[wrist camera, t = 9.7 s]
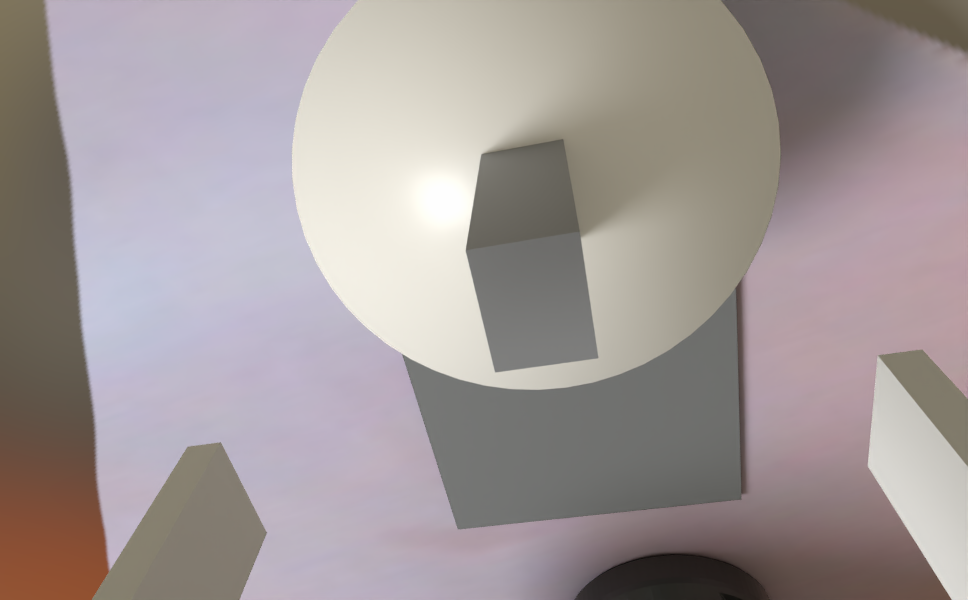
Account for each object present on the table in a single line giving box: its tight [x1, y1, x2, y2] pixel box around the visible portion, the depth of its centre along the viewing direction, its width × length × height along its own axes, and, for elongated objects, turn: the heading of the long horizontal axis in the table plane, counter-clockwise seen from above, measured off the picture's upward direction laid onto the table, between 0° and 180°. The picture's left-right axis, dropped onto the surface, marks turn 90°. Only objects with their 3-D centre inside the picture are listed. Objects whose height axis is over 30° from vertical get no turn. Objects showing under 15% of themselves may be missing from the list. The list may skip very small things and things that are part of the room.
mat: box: [402, 288, 741, 529], centre depth 41 cm, size 19×19×1 cm
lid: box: [292, 0, 781, 390], centre depth 23 cm, size 18×18×10 cm
